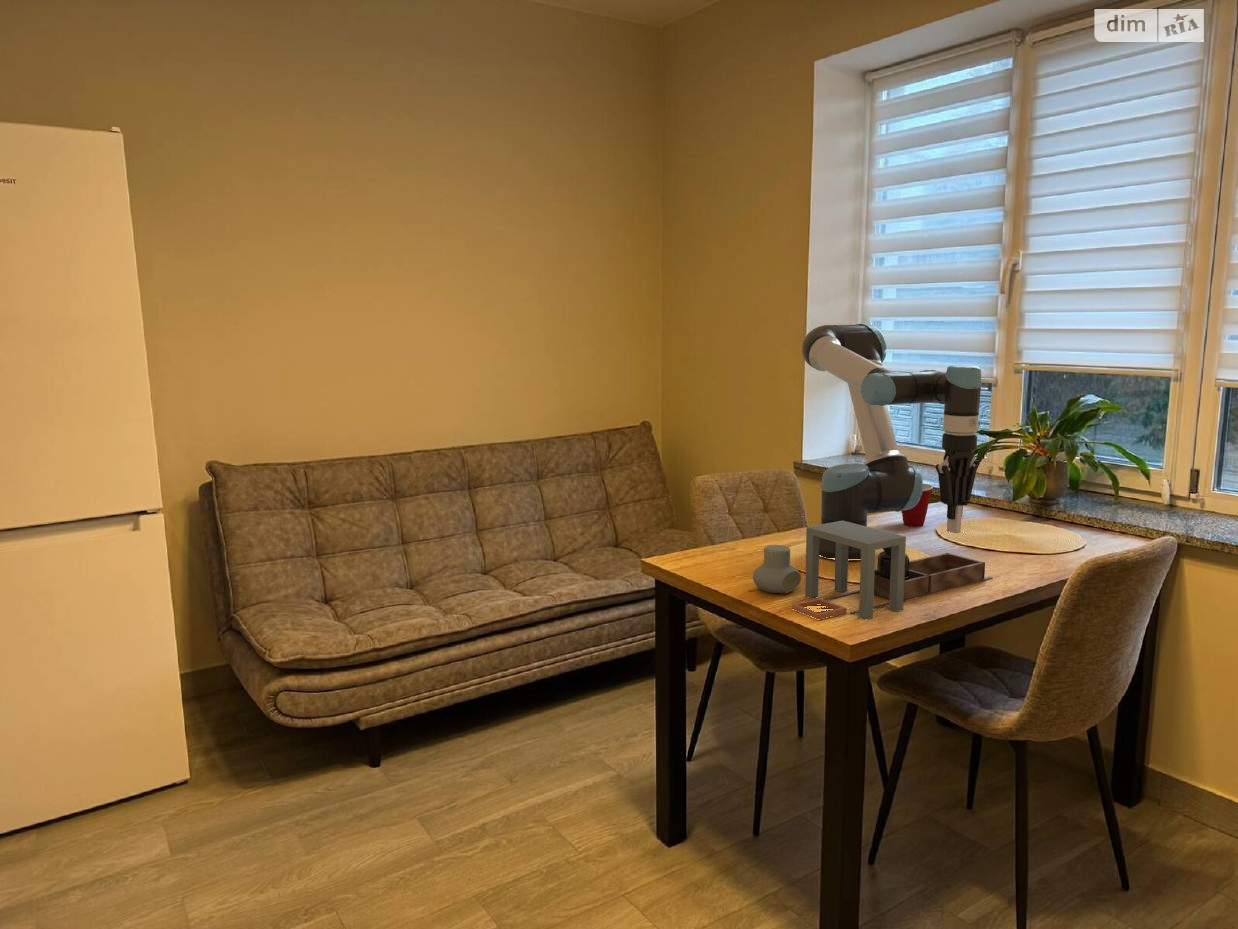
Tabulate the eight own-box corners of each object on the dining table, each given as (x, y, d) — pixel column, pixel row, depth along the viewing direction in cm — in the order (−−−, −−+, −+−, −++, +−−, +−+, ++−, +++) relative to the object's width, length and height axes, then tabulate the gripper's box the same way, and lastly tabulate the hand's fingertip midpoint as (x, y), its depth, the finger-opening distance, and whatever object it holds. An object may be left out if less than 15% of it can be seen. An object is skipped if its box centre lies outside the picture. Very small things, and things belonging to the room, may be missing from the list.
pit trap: (791, 609, 185) (791, 604, 185) (819, 603, 189) (819, 597, 189) (818, 620, 179) (818, 615, 178) (846, 613, 183) (846, 607, 182)
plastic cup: (890, 520, 265) (892, 481, 263) (927, 521, 264) (929, 482, 262) (897, 528, 255) (898, 488, 253) (935, 529, 253) (937, 489, 251)
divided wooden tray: (946, 568, 212) (947, 552, 212) (984, 579, 204) (985, 562, 203) (860, 589, 198) (861, 572, 197) (897, 601, 189) (898, 583, 188)
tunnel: (942, 564, 217) (945, 502, 215) (1006, 582, 202) (1010, 515, 199) (805, 596, 194) (806, 527, 191) (866, 619, 179) (868, 544, 176)
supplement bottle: (907, 599, 191) (909, 546, 189) (875, 596, 193) (877, 544, 191) (908, 590, 197) (910, 539, 195) (876, 587, 200) (878, 537, 198)
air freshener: (776, 581, 206) (777, 540, 204) (805, 588, 200) (806, 546, 198) (747, 591, 198) (747, 549, 197) (776, 599, 192) (777, 555, 191)
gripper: (955, 437, 194) (948, 539, 198) (992, 432, 200) (985, 531, 205) (927, 433, 200) (921, 532, 204) (964, 428, 207) (958, 524, 211)
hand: (953, 531), depth 204 cm, fingers closed
